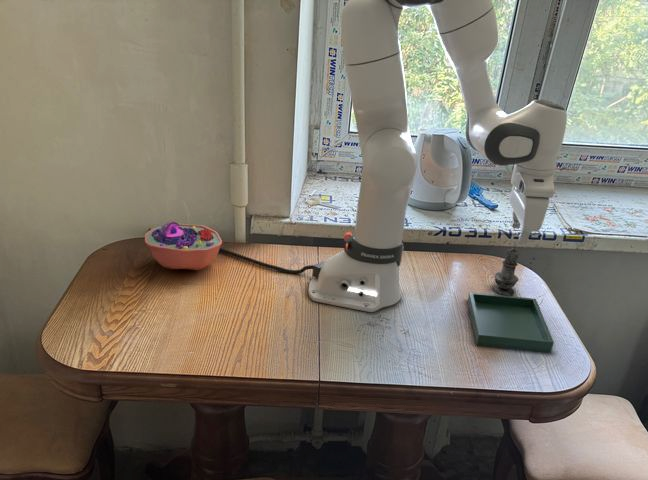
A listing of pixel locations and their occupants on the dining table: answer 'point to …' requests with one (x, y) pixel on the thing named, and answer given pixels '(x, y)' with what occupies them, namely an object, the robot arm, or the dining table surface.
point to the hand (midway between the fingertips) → (518, 235)
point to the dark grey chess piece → (507, 274)
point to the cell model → (183, 245)
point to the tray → (508, 322)
